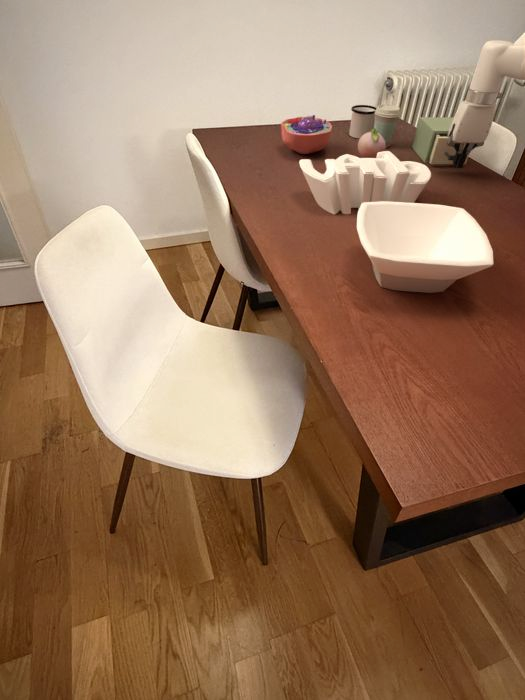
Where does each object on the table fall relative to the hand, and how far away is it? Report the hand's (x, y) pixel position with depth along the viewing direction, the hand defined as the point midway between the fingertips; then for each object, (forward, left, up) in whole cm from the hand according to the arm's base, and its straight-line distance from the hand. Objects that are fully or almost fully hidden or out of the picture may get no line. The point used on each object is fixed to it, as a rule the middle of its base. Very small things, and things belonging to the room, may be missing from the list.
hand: (457, 166), depth 123 cm
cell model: (+45, -20, -3) cm, 49 cm away
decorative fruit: (+25, -10, -3) cm, 27 cm away
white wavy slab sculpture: (+33, +19, -3) cm, 38 cm away
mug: (+22, -38, -3) cm, 44 cm away
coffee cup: (+17, -26, -3) cm, 32 cm away
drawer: (0, -11, -2) cm, 11 cm away
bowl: (+30, +54, -3) cm, 61 cm away
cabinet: (0, -17, -3) cm, 18 cm away
